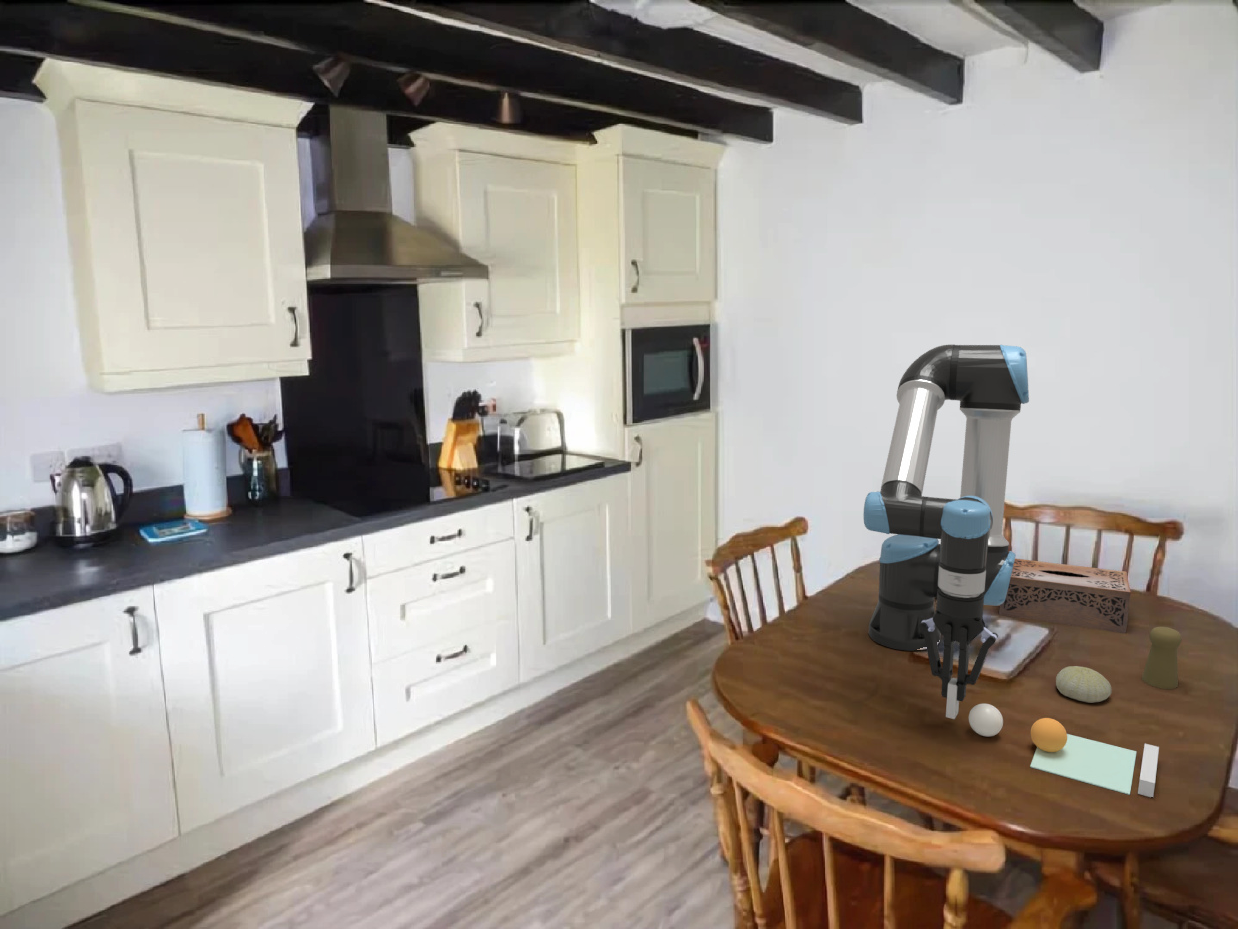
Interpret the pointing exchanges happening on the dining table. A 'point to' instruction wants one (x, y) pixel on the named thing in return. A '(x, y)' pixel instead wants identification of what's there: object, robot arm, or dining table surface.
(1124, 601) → the tissue box cover
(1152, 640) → the cork
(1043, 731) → the orange ball
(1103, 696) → the sea urchin shell
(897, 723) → the dining table surface
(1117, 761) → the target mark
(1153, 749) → the stopper
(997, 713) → the cue ball
